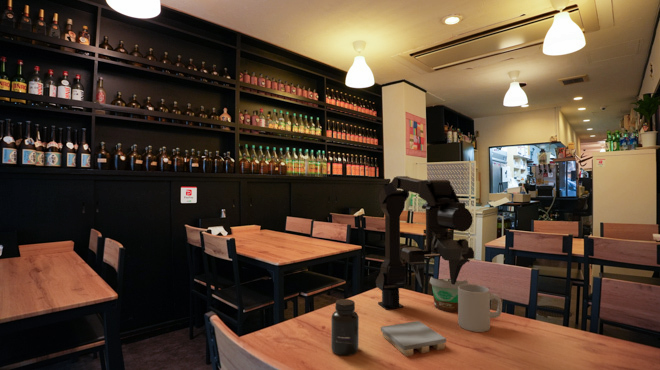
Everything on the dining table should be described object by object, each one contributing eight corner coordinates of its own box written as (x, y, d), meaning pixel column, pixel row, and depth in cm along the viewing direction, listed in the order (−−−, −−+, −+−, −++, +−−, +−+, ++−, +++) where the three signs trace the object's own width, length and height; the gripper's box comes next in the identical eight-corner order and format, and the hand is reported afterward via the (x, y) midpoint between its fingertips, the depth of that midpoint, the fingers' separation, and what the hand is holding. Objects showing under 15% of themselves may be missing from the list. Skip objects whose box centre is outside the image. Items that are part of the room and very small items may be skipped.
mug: (463, 331, 93) (462, 292, 93) (454, 319, 102) (454, 283, 102) (508, 333, 92) (507, 293, 92) (495, 321, 101) (495, 284, 101)
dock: (380, 336, 91) (380, 326, 91) (418, 329, 95) (418, 320, 95) (404, 356, 80) (404, 346, 80) (446, 348, 84) (446, 338, 84)
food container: (428, 310, 110) (427, 280, 110) (430, 304, 115) (429, 275, 115) (468, 315, 105) (468, 283, 105) (468, 309, 111) (468, 278, 111)
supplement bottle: (339, 359, 79) (339, 308, 79) (326, 347, 85) (326, 300, 85) (364, 352, 82) (363, 303, 82) (349, 341, 88) (349, 295, 88)
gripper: (419, 232, 79) (420, 298, 79) (488, 229, 83) (488, 292, 83) (399, 226, 90) (400, 284, 90) (461, 224, 94) (461, 280, 94)
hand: (437, 285), depth 89 cm, fingers open, 9 cm apart
